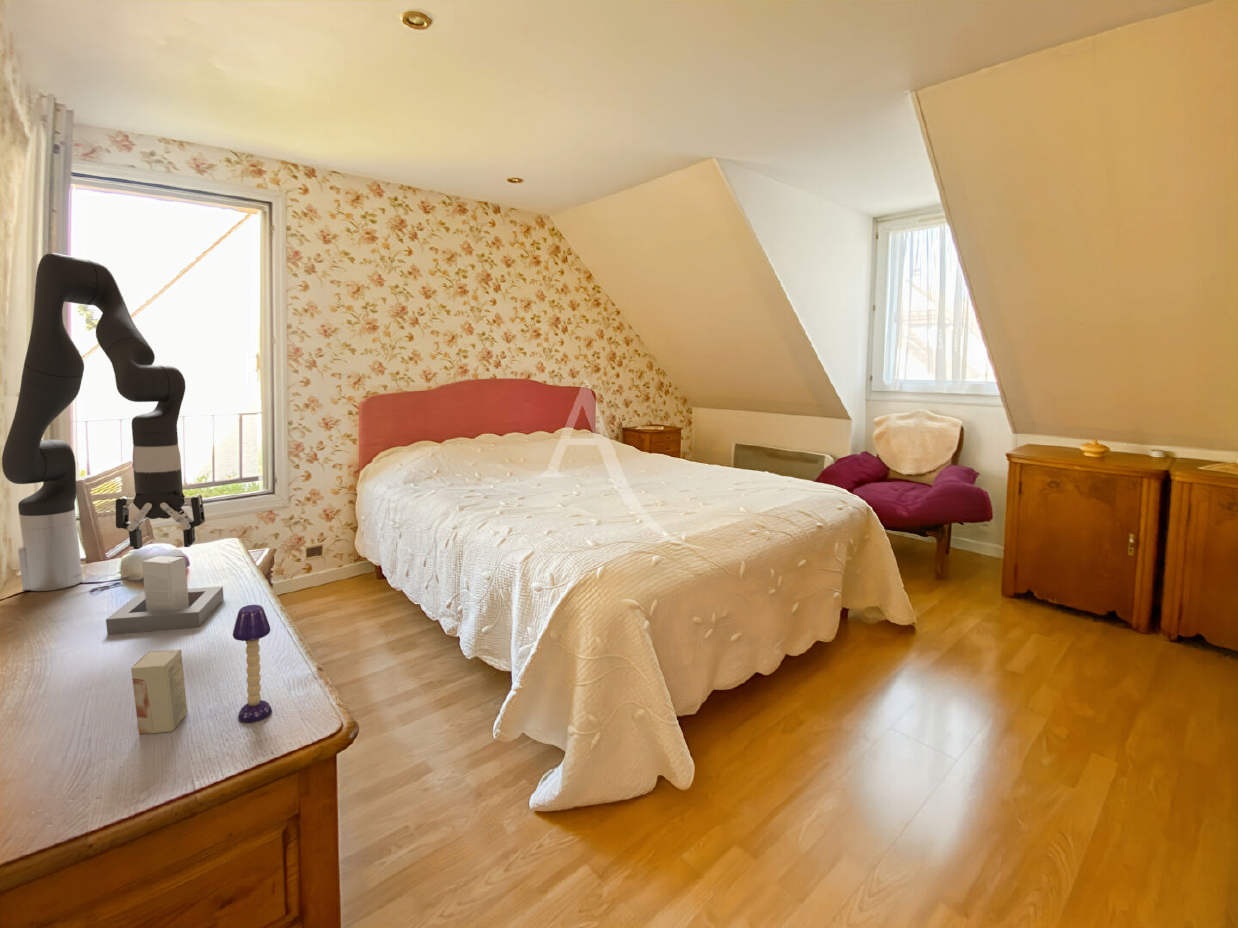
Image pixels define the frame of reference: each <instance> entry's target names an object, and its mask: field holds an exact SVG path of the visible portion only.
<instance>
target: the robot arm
mask: <svg viewBox="0 0 1238 928" xmlns="http://www.w3.org/2000/svg"><path fill="white" fill-rule="evenodd" d="M35 276H36V277H35V285H34V286H35V287H34V288H35V289H34V301H33V302H34V303H33V312H32V313H33V316H32V324H31V330H30V336H29V340H28V346H27V350H26V354H25V359H24V363H23V369H22V374H21V381H20V386H19V387H20V389H19V394H18V399H17V404H16V409H15V412H14V416H13V419H12V420H13V421H12V423H11V427H10V428H9V431H8V435H7V438H6V441H5V443H4V447H3V451H2V456H1V469H2V472H3V474H4V476H5V478H6V479H7V480H8V481H9V482H11V483H12V484H15V485H28V484H30V485H31V484H37V483H38V484H39V483H43V484H42V486H41V487H40V488H39V489H38V490H37V491H35V493H32V494H30V495H29V496H26V497H24V498H23V499H21V500H19V502H18V505H17V506H18V507H17V508H18V516H19V524H20V525H19V526H20V532H21V540H22V541H21V542H22V547H19V548H18V550H17V553H18V561H19V569H20V577H21V578H20V579H21V586H22V587H21V588H22V591H31V592H32V591H33V592H48V591H57V590H61V589H65V588H66V589H67V588H69V587H73V586H75V585H78V584H80V583H82V582H83V571H82V563H81V561H82V560H81V553H80V552H81V551H80V544H79V543H80V541H79V534H78V533H79V532H78V525H77V514H76V499H77V465H76V464H77V463H76V458H75V454H74V450H73V449H72V447H71V445H69V444H70V443H69V444H68V443H67V442H66V441H65V440H63V439H56V438H55V439H43V436H44V434H45V433H46V430H47V429H48V427H49V426H50V425H51V423H52V422H54V421H55V419H57V417H58V416H60V415H61V414H62V413H63V412H64V410H65V409H67V408H68V407H69V406H70V405H71V404H72V403H73V401H75V399H76V398H77V396H78V395H79V393H80V390H81V385H82V381H83V376H84V371H85V363H84V360H83V357H82V354H81V353H80V352H79V349H78V348H77V346H76V345H75V343H74V342H73V340H72V339H71V337H70V335H69V333H68V332H67V330H66V327H65V324H64V319H63V317H64V316H63V308H64V304H65V303H71V304H72V303H73V304H79V305H85V306H95V307H96V308H98V310H100V311H101V313H102V314H101V316H100V318H99V319H98V321H97V323H96V327H95V336H96V337H95V338H96V340H97V342H98V343H97V344H99V346H100V348H101V349H102V351H103V352H104V353H105V355H106V356H107V358H108V360H109V361H110V362H111V366H112V369H113V372H114V378H115V379H114V380H115V385H116V390H117V391H118V393H119V394H120V395H121V397H123V398H124V399H126V400H128V401H129V402H135V403H148V402H149V403H150V402H151V403H152V402H153V403H154V402H156V403H157V404H156V406H155V408H154V409H153V410H152V411H150V412H146V413H143V414H139V415H136V416H134V417H133V418H132V419H131V433H132V434H131V435H132V436H131V437H132V445H133V446H132V447H133V448H132V449H133V450H132V464H131V465H132V469H133V482H134V493H135V496H134V497H128V496H127V495H123V496H121V497H118V498H117V499H115V528H117V529H119V530H120V529H123V530H126V531H127V532H128V537H129V545H130V547H131V548H132V547H133V550H140V549H141V548H143V545H144V544H143V535H142V533H143V532H142V528H140V526H142V524H143V523H144V522H145V521H146V520H147V519H149V520H157V519H163V520H164V519H170V518H172V519H173V520H174V521H175V522H176V523H179V524H180V525H181V526H182V527H183V530H182V532H183V534H182V535H183V547H184V548H190V547H191V546H192V545H193V544H194V543H195V541H196V535H195V534H196V530H195V528H196V527H199V526H201V525H202V524H204V523H206V518H205V509H204V508H205V507H204V502H203V501H204V500H203V496H202V494H197V495H195V496H185V494H184V491H183V475H182V473H183V472H182V458H181V452H180V449H179V437H178V436H179V435H178V421H179V420H178V419H179V417H180V411H181V406H182V403H183V401H184V397H185V392H186V380H185V377H184V375H183V374H182V372H181V371H180V370H179V369H178V368H177V367H175V366H171V365H164V364H163V365H161V364H159V365H157V364H156V365H155V364H154V362H155V358H156V356H155V352H154V351H153V349H152V347H151V346H150V345H149V343H148V341H147V340H146V339H145V337H144V336H143V334H142V333H141V332H140V330H139V329H138V328H137V326H136V324H135V322H134V321H133V319H132V317H131V315H130V312H129V310H128V307H127V305H126V302H125V299H124V297H123V295H122V293H121V291H120V288H119V285H118V283H117V281H116V279H115V277H114V275H113V274H112V272H111V271H110V270H109V268H108V267H107V266H105V264H103V263H101V262H98V261H95V260H91V259H88V258H87V259H86V258H82V257H77V256H71V255H66V254H61V253H56V252H48V253H45V254H44V255H42V257H41V259H40V260H39V263H38V266H37V269H36V275H35ZM153 364H154V365H153ZM186 503H187V505H188V507H190V508H191V511H192V518H193V519H192V518H191V517H190V516H189V514H188V513H187V511H186V510H185V509H184V508H183V506H184V504H186ZM133 505H134V506H135V507H136V508H137V509H138V510H139V512H138V513H137V514H136V515H135V516H134V518H133V520H132V521H130V508H132V506H133Z"/></svg>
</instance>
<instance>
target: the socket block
mask: <svg viewBox="0 0 1238 928" xmlns="http://www.w3.org/2000/svg"><path fill="white" fill-rule="evenodd" d="M224 597H225V596H224V586H221V585H220V586H209V587H206V586H205V587H194V588H193V587H191V588H188V599H189V608H188V609H175V610H162V611H149V612H147V611H146V600H145V591H141V592H139V593H138V594H137V595H135V596H134V597H133V598H131V599H130V600H129V601H127V602H126V603H125V604H123V605H122V606H121V607H120V608H118V609H117V610H116V611H115V612H114V613H112V614H111V615H109V616H108V617H107V618H105V623H106V625H105V626H106V633H107V635H119V634H126V633H127V634H128V633H138V632H139V633H141V632H151V631H163V630H176V629H187V628H197V627H198V628H200V627H201V626H202V625H203V624H204V622H205V621H206V620H208V618H209V616H211V615H212V614H213V613H214V611H215V610H216V609H217V608H218V607H219V605H220V604H221V603H222V602H223V601H224V600H225V598H224Z"/></svg>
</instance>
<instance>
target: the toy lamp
mask: <svg viewBox="0 0 1238 928" xmlns="http://www.w3.org/2000/svg"><path fill="white" fill-rule="evenodd" d="M264 609H265V608H264V607H263V606H262V605H260V604H248V605H245V606H243V607H241V608H239V610H238V612H237V616H236V619H235V622H234V623H235V624H234V626H233V630H232V637H233V639H234V640H237V641H239V642H240V641H241V642H245V644H246V647H245V653H246V665H247V666H246V673H247V677H246V684H247V687H246V692H247V697H246V698H247V700H246V701H247V703H246V704H243V706H242V707H241V709H240V710H239V712H238V714H237V715H238V717H237V718H238V719H237V720H239V722H240V723H241V722H242V723H256V722H259V721H262V720H265V719H266V718H268V717H269V716H271V714H272V712H273V709H272V707H271V705H270V703H269V702H267V701H266V700H262V697H261V696H262V695H261V687H262V685H261V684H260V683H261V679H262V678H261V665H260V662H261V657H260V650H261V649H260V648H261V647H260V644H259V642H260V639H262V638H265V637H266V636H268V635H269V634H270V632H271V627H270V623H269V620H268V618H267V614H266V612H265V610H264Z"/></svg>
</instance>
